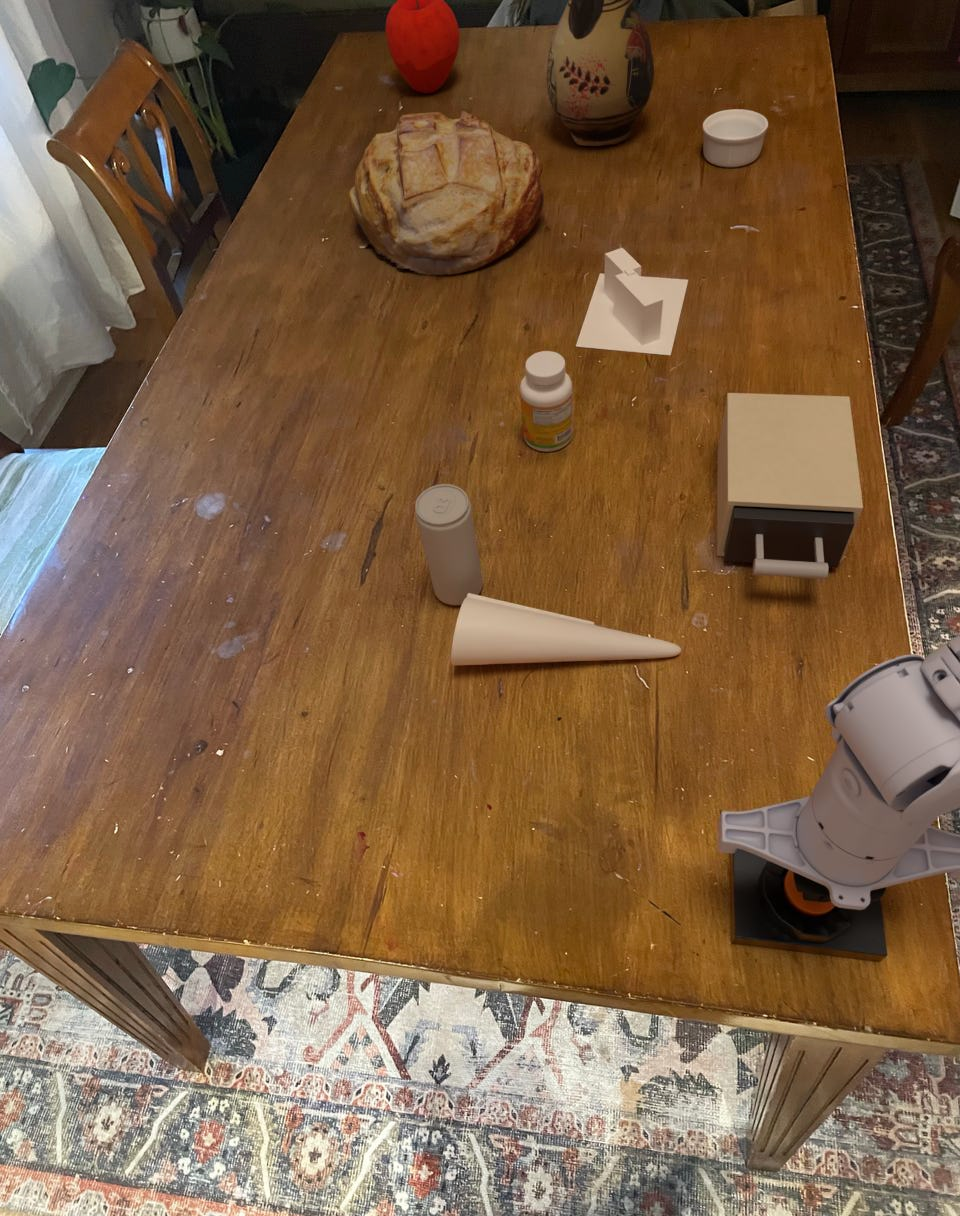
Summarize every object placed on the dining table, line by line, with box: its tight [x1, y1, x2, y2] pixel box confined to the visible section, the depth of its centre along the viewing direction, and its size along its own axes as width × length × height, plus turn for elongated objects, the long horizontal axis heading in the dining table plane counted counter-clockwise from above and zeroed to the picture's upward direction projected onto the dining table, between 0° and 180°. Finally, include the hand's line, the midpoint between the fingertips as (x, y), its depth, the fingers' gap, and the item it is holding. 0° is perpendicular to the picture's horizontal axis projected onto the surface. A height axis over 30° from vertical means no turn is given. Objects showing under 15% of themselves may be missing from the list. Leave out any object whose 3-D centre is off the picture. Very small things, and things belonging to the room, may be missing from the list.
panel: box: [729, 848, 888, 963], centre depth 60 cm, size 10×7×4 cm
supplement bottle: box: [519, 350, 574, 453], centre depth 88 cm, size 5×5×10 cm
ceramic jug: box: [546, 0, 655, 147], centre depth 117 cm, size 17×15×30 cm
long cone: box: [450, 593, 682, 666], centre depth 74 cm, size 6×6×19 cm
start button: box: [781, 870, 835, 918], centre depth 59 cm, size 4×4×2 cm
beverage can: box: [414, 483, 484, 606], centre depth 76 cm, size 5×5×12 cm
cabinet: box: [716, 392, 864, 565], centre depth 80 cm, size 14×11×8 cm
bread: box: [348, 108, 545, 276], centre depth 113 cm, size 25×27×15 cm
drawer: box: [723, 506, 854, 580], centre depth 78 cm, size 18×10×6 cm, turn 171°
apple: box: [384, 0, 461, 94], centre depth 139 cm, size 12×12×13 cm
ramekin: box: [702, 108, 769, 168], centre depth 120 cm, size 9×9×4 cm
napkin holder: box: [575, 247, 689, 356], centre depth 101 cm, size 15×11×6 cm
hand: (812, 886), depth 59 cm, fingers closed, pressing on start button
